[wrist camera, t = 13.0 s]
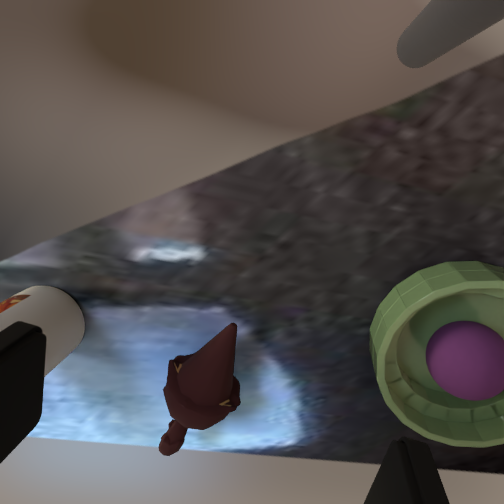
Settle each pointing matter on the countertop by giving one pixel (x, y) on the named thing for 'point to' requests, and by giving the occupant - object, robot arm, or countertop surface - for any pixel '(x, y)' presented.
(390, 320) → the bowl
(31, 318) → the milk bottle
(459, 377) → the ball
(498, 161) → the countertop surface
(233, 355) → the brown gnome figurine
